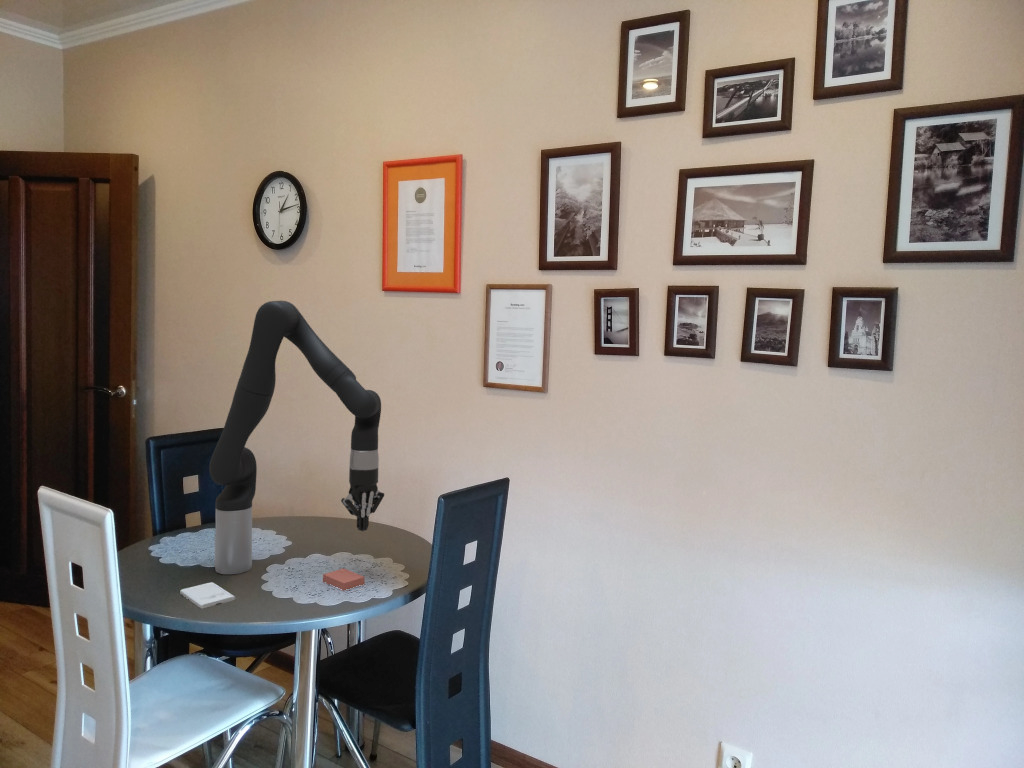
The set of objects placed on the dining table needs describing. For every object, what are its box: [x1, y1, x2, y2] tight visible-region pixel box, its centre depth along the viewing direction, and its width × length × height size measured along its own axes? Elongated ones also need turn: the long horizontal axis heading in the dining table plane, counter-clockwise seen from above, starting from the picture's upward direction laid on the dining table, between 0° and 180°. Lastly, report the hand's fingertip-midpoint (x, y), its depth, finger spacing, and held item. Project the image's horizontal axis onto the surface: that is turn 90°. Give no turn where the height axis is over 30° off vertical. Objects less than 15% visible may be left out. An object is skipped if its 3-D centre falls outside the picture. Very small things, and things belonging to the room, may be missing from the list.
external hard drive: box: [179, 581, 236, 609], centre depth 168 cm, size 2×8×12 cm
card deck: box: [322, 568, 366, 591], centre depth 180 cm, size 9×2×6 cm
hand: (362, 529), depth 182 cm, fingers closed
